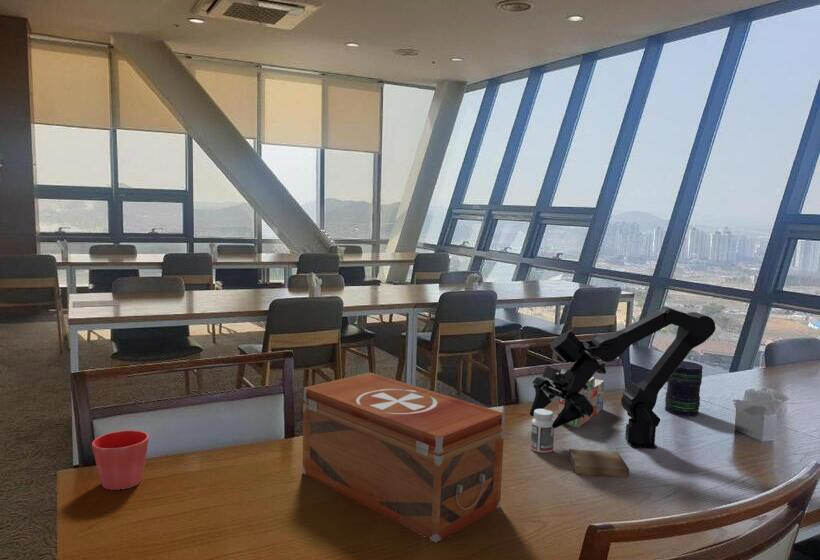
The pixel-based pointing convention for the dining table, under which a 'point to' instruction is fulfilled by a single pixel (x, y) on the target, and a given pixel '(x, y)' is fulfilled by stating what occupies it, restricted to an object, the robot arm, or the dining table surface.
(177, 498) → the dining table surface
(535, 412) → the pill bottle
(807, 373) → the dining table surface
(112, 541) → the dining table surface
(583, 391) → the stack of blocks
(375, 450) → the wooden box
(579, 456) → the wooden board
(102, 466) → the flower pot
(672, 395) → the storage jar
